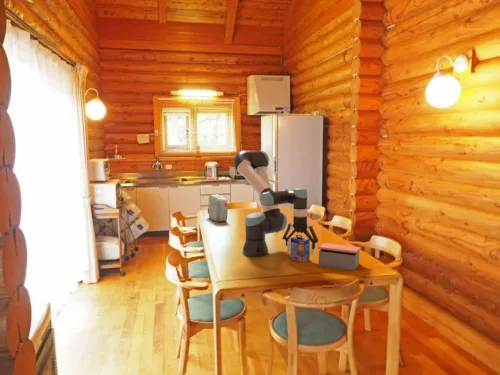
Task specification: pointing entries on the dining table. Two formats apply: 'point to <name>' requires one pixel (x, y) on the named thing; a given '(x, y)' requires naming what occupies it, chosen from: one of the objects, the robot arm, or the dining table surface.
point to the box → (338, 259)
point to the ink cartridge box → (300, 249)
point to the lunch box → (217, 208)
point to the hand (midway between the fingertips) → (300, 253)
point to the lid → (339, 248)
